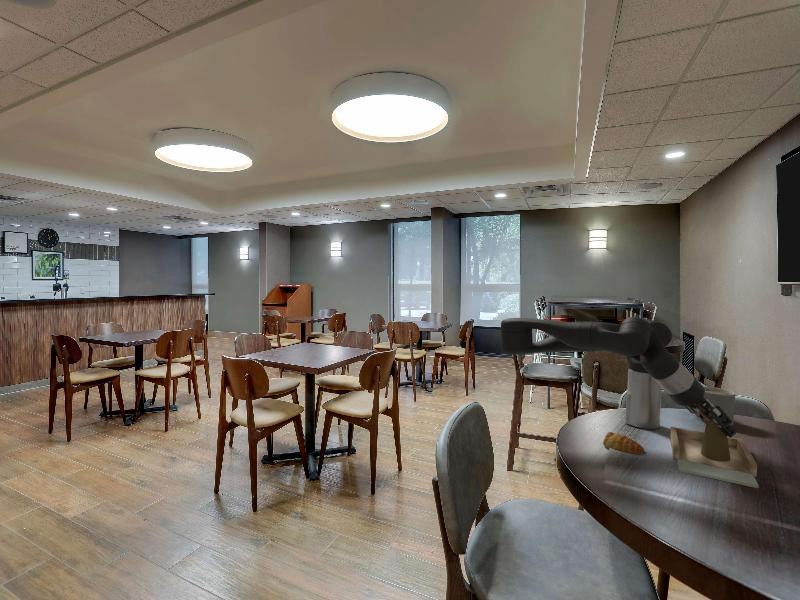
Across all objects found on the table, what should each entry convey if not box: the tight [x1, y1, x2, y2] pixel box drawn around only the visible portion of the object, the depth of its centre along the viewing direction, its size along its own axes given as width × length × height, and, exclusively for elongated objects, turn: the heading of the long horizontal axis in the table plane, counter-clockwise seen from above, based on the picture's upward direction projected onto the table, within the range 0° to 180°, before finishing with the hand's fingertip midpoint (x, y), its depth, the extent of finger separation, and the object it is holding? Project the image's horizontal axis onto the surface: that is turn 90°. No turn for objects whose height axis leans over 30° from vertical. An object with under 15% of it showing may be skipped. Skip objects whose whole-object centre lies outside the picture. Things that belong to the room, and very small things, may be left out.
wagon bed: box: [669, 426, 758, 478], centre depth 106 cm, size 16×18×4 cm
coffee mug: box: [694, 386, 736, 427], centre depth 135 cm, size 13×10×10 cm
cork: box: [701, 414, 730, 461], centre depth 103 cm, size 6×6×11 cm
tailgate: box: [676, 459, 759, 489], centre depth 95 cm, size 14×1×6 cm
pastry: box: [602, 431, 645, 455], centre depth 110 cm, size 9×7×4 cm
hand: (722, 429), depth 104 cm, fingers open, 6 cm apart
